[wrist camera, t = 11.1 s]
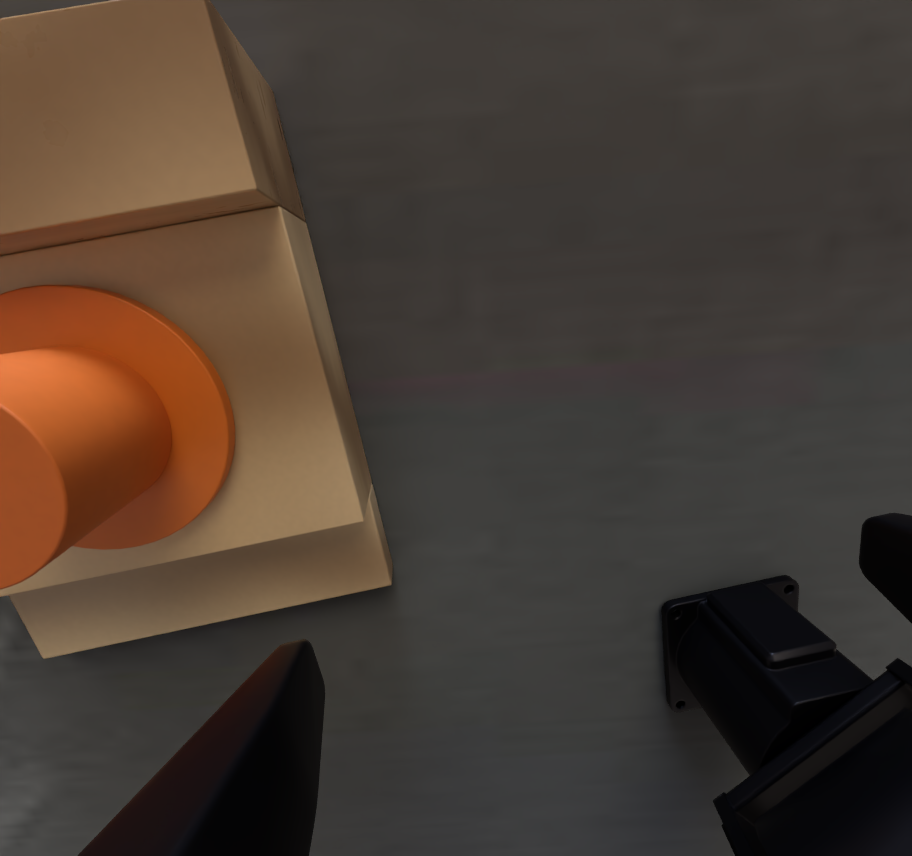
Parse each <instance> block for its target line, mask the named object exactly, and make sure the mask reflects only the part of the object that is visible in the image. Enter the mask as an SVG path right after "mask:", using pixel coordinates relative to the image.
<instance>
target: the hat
mask: <svg viewBox="0 0 912 856" xmlns="http://www.w3.org/2000/svg"><path fill="white" fill-rule="evenodd" d="M234 448H235V425H234V417H233V411H232V408H231V404H230V400H229V397H228V394H227V392H226V389H225V387H224V384H223V382H222V380H221V378H220V376H219V375H218V373H217V371H216V369H215V368H214V366H213V364H212V363H211V362H210V360H209V359H208V357H207V356H206V355H205V353H204V352H203V351H202V349H201V348H200V347H199V346H198V345H197V344H196V343H195V342H194V341H193V340H192V339H191V338H190V336H189V335H187V334H186V333H185V332H184V331H183V330H182V329H180V328H179V327H178V326H177V325H176V324H175V323H173V322H172V321H171V320H169V319H168V318H166V317H165V316H163V315H162V314H160V313H159V312H157V311H156V310H154V309H152V308H150V307H148V306H146V305H144V304H142V303H141V302H139V301H136V300H134V299H131V298H129V297H126V296H124V295H121V294H119V293H115V292H111V291H107V290H104V289H100V288H94V287H87V286H80V285H39V286H30V287H23V288H19V289H16V290H12V291H8V292H5V293H2V294H0V590H1V589H5V588H8V587H11V586H13V585H16V584H18V583H21V582H23V581H24V580H26V579H28V578H30V577H31V576H33V575H34V574H36V573H37V572H38V571H40V570H41V569H42V568H44V567H45V566H46V565H48V564H49V563H50V562H52V561H53V560H54V559H56V558H57V557H58V556H60V555H61V554H62V553H64V552H65V551H66V550H68V549H69V548H70V547H71V546H74V547H80V548H87V549H100V550H108V549H124V548H131V547H138V546H141V545H145V544H149V543H153V542H156V541H158V540H160V539H163V538H165V537H168V536H170V535H172V534H173V533H175V532H177V531H179V530H181V529H182V528H184V527H185V526H186V525H188V524H189V523H190V522H192V521H193V520H194V519H195V518H196V517H197V516H198V515H199V514H200V513H201V512H202V511H203V510H204V509H205V508H206V507H207V506H208V505H209V504H210V503H211V502H212V501H213V499H214V498H215V496H216V495H217V494H218V492H219V491H220V489H221V488H222V486H223V484H224V482H225V480H226V478H227V476H228V473H229V470H230V467H231V464H232V460H233V454H234Z"/></svg>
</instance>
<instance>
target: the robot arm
mask: <svg viewBox="0 0 912 856" xmlns="http://www.w3.org/2000/svg"><path fill="white" fill-rule="evenodd" d="M859 565H860V568H861V571H862V573H863V574H864V576H865V577H866V578H867V579H868V580H869V581H870V582H871V583H872V584H873V585H874V586H875V587H876V588H877V589H878V590H879V591H880V592H881V593H882V594H883V595H884V596H885V597H886V598H887V599H888V600H889V601H890V602H891V603H892V604H893V605H894V606H895V607H896V608H897V609H898V610H899V611H900V612H901V613H902V614H903V615H904V616H905V617H906V618H907V619H908V620H909V621H910V622H911V623H912V516H910V515H905V514H899V513H889V514H884V515H880V516H875V517H871V518H868V519H867V520H865V522H864V523H863V525H862V532H861V543H860V555H859ZM798 595H799V585H798V583H797V582H796V581H795V580H794V579H792V578H791V577H790V576H787V575H782V576H778V577H773V578H769V579H764V580H759V581H755V582H750V583H746V584H741V585H737V586H732V587H727V588H723V589H718V590H714V591H709V592H704V593H700V594H695V595H691V596H686V597H682V598H677V599H672V600H669V601H667V602H666V603H665V604H664V605H663V607H662V628H663V645H664V662H665V678H666V695H667V702H668V704H669V706H670V707H671V709H672V710H673V711H674V712H684V711H688V710H693V709H697V708H701V707H702V708H703V709H704V711H705V712H706V713H707V715H708V716H709V718H710V719H711V721H712V722H713V724H714V725H715V726H716V728H717V729H718V731H719V732H720V734H721V735H722V736H723V738H724V739H725V741H726V742H727V744H728V745H729V746H730V748H731V749H732V751H733V752H734V754H735V755H736V756H737V758H738V759H739V761H740V762H741V764H742V765H743V766H744V768H745V769H746V771H747V772H748V774H749V775H750V776H749V777H748V778H747V779H745V780H744V781H743V782H741V783H740V784H739V785H738V786H736V787H735V788H734V789H732V790H731V791H730V792H728V793H727V794H726V793H724V792H723V793H722V794H721V795H719V796H718V797H717V798H715V799H714V800H713V803H714V805H715V807H716V809H717V811H718V814H719V816H720V818H721V820H722V822H723V825H722V828H723V830H724V832H725V834H726V837H727V839H728V841H729V843H730V845H731V848H732V850H733V852H734V854H735V856H912V667H910V666H909V665H907V664H906V663H905V662H903V661H902V660H900V659H898V658H897V659H896V660H894V661H893V662H892V663H890V664H889V665H888V666H886V669H887V671H886V672H884V673H883V674H882V675H880V676H879V677H878V678H876V679H875V680H872V679H871V678H870V677H869V676H868V675H866V674H865V673H864V672H863V671H862V670H861V669H859V668H858V667H857V666H856V665H855V664H853V663H852V662H851V661H850V660H849V659H847V658H846V657H845V656H844V655H843V654H842V653H840V652H839V651H838V650H837V649H836V644H835V642H834V641H832V640H831V639H830V638H829V637H828V636H826V635H825V634H824V633H823V632H822V631H820V630H819V629H818V628H817V627H816V626H814V625H813V624H812V623H811V622H810V621H808V620H807V619H806V618H805V617H804V616H802V615H801V614H800V613H799V612H798ZM674 610H676V611H675V612H673V611H674ZM672 612H673V613H672ZM324 704H325V686H324V681H323V677H322V674H321V671H320V668H319V665H318V662H317V659H316V656H315V653H314V650H313V647H312V645H311V643H310V642H309V641H308V640H306V639H302V640H298V641H293V642H288V643H284V644H282V645H280V646H279V647H278V648H277V649H276V650H275V651H274V652H273V653H272V654H271V655H270V656H269V657H268V658H267V659H266V660H265V661H264V662H263V663H262V664H261V665H260V666H259V667H258V668H257V669H256V670H255V672H254V673H253V674H252V675H251V676H250V677H249V678H248V679H247V680H246V681H245V682H244V683H243V684H242V685H241V686H240V687H239V688H238V689H237V690H236V691H235V692H234V693H233V694H232V695H231V696H230V698H229V699H228V700H227V701H226V702H225V703H224V704H223V705H222V706H221V707H220V708H219V709H218V710H217V711H216V712H215V713H214V714H213V715H212V716H211V717H210V718H209V719H208V720H207V721H206V723H205V724H204V725H203V726H202V727H201V728H200V729H199V730H198V731H197V732H196V733H195V734H194V735H193V736H192V737H191V738H190V739H189V740H188V741H187V742H186V743H185V744H184V745H183V746H182V747H181V749H180V750H179V751H178V752H177V753H176V754H175V755H174V756H173V757H172V758H171V759H170V760H169V761H168V762H167V763H166V764H165V765H164V766H163V767H162V768H161V769H160V770H159V771H158V772H157V774H156V775H155V776H154V777H153V778H152V779H151V780H150V781H149V782H148V783H147V784H146V785H145V786H144V787H143V788H142V789H141V790H140V791H139V792H138V793H137V794H136V795H135V796H134V797H133V798H132V800H131V801H130V802H129V803H128V804H127V805H126V806H125V807H124V808H123V809H122V810H121V811H120V812H119V813H118V814H117V815H116V816H115V817H114V818H113V819H112V820H111V821H110V822H109V823H108V824H107V826H106V827H105V828H104V829H103V830H102V831H101V832H100V833H99V834H98V835H97V836H96V837H95V838H94V839H93V840H92V841H91V842H90V843H89V844H88V845H87V846H86V847H85V848H84V849H83V850H82V852H81V853H80V854H79V855H78V856H309V852H310V846H311V840H312V834H313V828H314V822H315V815H316V808H317V798H318V787H319V773H320V759H321V745H322V732H323V718H324Z"/></svg>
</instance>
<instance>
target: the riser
mask: <svg viewBox="0 0 912 856" xmlns="http://www.w3.org/2000/svg"><path fill="white" fill-rule="evenodd" d="M39 285H80V286H87V287H94V288H100V289H104V290H107V291H111V292H115V293H119V294H121V295H124V296H126V297H129V298H131V299H134V300H136V301H139V302H141V303H142V304H144V305H146V306H148V307H150V308H152V309H154V310H156V311H157V312H159V313H160V314H162V315H163V316H165V317H166V318H168V319H169V320H171V321H172V322H173V323H175V324H176V325H177V326H178V327H179V328H180V329H182V330H183V331H184V332H185V333H186V334H187V335H189V336H190V338H191V339H192V340H193V341H194V342H195V343H196V344H197V345H198V346H199V347H200V348H201V349H202V351H203V352H204V353H205V355H206V356H207V357H208V359H209V360H210V362H211V363H212V364H213V366H214V368H215V369H216V371H217V373H218V375H219V376H220V378H221V380H222V382H223V384H224V387H225V389H226V392H227V394H228V397H229V400H230V404H231V408H232V411H233V417H234V425H235V448H234V454H233V460H232V464H231V467H230V470H229V473H228V476H227V478H226V480H225V482H224V484H223V486H222V488H221V489H220V491H219V492H218V494H217V495H216V496H215V498H214V499H213V501H212V502H211V503H210V504H209V505H208V506H207V507H206V508H205V509H204V510H203V511H202V512H201V513H200V514H199V515H198V516H197V517H196V518H195V519H194V520H193V521H192V522H190V523H189V524H188V525H186V526H185V527H184V528H182V529H181V530H179V531H177V532H175V533H173V534H172V535H170V536H168V537H165V538H163V539H160V540H158V541H156V542H153V543H149V544H145V545H141V546H138V547H131V548H124V549H108V550H100V549H87V548H80V547H74V546H71V547H70V548H69V549H68V550H66V551H65V552H64V553H62V554H61V555H60V556H58V557H57V558H56V559H54V560H53V561H52V562H50V563H49V564H48V565H46V566H45V567H44V568H42V569H41V570H40V571H38V572H37V573H36V574H34V575H33V576H31V577H30V578H28V579H26V580H24V581H23V582H21V583H18V584H16V585H13V586H11V587H8V588H5V589H1V590H0V597H2V596H7V595H9V597H10V599H11V601H12V603H13V605H14V606H15V608H16V610H17V612H18V614H19V616H20V617H21V619H22V621H23V623H24V625H25V627H26V628H27V630H28V632H29V634H30V636H31V637H32V639H33V641H34V643H35V645H36V647H37V648H38V650H39V652H40V654H41V656H42V658H44V659H46V658H51V657H56V656H60V655H65V654H70V653H74V652H79V651H84V650H89V649H93V648H98V647H103V646H107V645H112V644H117V643H121V642H126V641H131V640H136V639H140V638H145V637H150V636H154V635H159V634H164V633H169V632H173V631H178V630H183V629H187V628H192V627H197V626H202V625H206V624H211V623H216V622H220V621H225V620H230V619H235V618H239V617H244V616H249V615H253V614H258V613H263V612H268V611H272V610H277V609H282V608H286V607H291V606H296V605H300V604H305V603H310V602H315V601H319V600H324V599H329V598H333V597H338V596H343V595H348V594H352V593H357V592H362V591H366V590H371V589H376V588H381V587H385V586H390V585H391V584H392V571H393V563H392V559H391V555H390V551H389V547H388V543H387V539H386V535H385V532H384V528H383V524H382V520H381V516H380V512H379V508H378V504H377V500H376V496H375V492H374V488H373V485H372V484H371V483H372V480H371V476H370V472H369V468H368V464H367V460H366V456H365V453H364V449H363V445H362V441H361V437H360V433H359V429H358V425H357V421H356V417H355V413H354V409H353V405H352V401H351V397H350V393H349V390H348V386H347V382H346V378H345V374H344V370H343V366H342V362H341V358H340V354H339V350H338V346H337V342H336V338H335V334H334V330H333V326H332V323H331V319H330V315H329V311H328V307H327V303H326V299H325V295H324V291H323V287H322V283H321V279H320V275H319V271H318V267H317V263H316V260H315V256H314V252H313V248H312V244H311V240H310V236H309V232H308V228H307V224H306V223H305V216H304V212H303V208H302V204H301V200H300V196H299V192H298V188H297V184H296V181H295V177H294V173H293V169H292V165H291V161H290V157H289V153H288V149H287V145H286V141H285V137H284V133H283V129H282V125H281V121H280V117H279V114H278V110H277V106H276V102H275V98H274V94H273V91H272V89H271V88H270V87H269V85H268V84H267V82H266V81H265V79H264V78H263V76H262V75H261V74H260V72H259V71H258V69H257V68H256V66H255V65H254V63H253V62H252V61H251V59H250V58H249V56H248V55H247V53H246V52H245V50H244V49H243V48H242V46H241V45H240V43H239V42H238V40H237V39H236V38H235V36H234V35H233V33H232V32H231V30H230V29H229V27H228V26H227V25H226V23H225V22H224V20H223V19H222V17H221V16H220V14H219V13H218V12H217V10H216V9H215V7H214V6H213V4H212V3H211V1H210V0H112V1H106V2H99V3H93V4H87V5H81V6H75V7H68V8H62V9H56V10H50V11H44V12H38V13H31V14H25V15H19V16H13V17H7V18H0V294H2V293H5V292H8V291H12V290H16V289H19V288H23V287H30V286H39Z"/></svg>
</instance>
